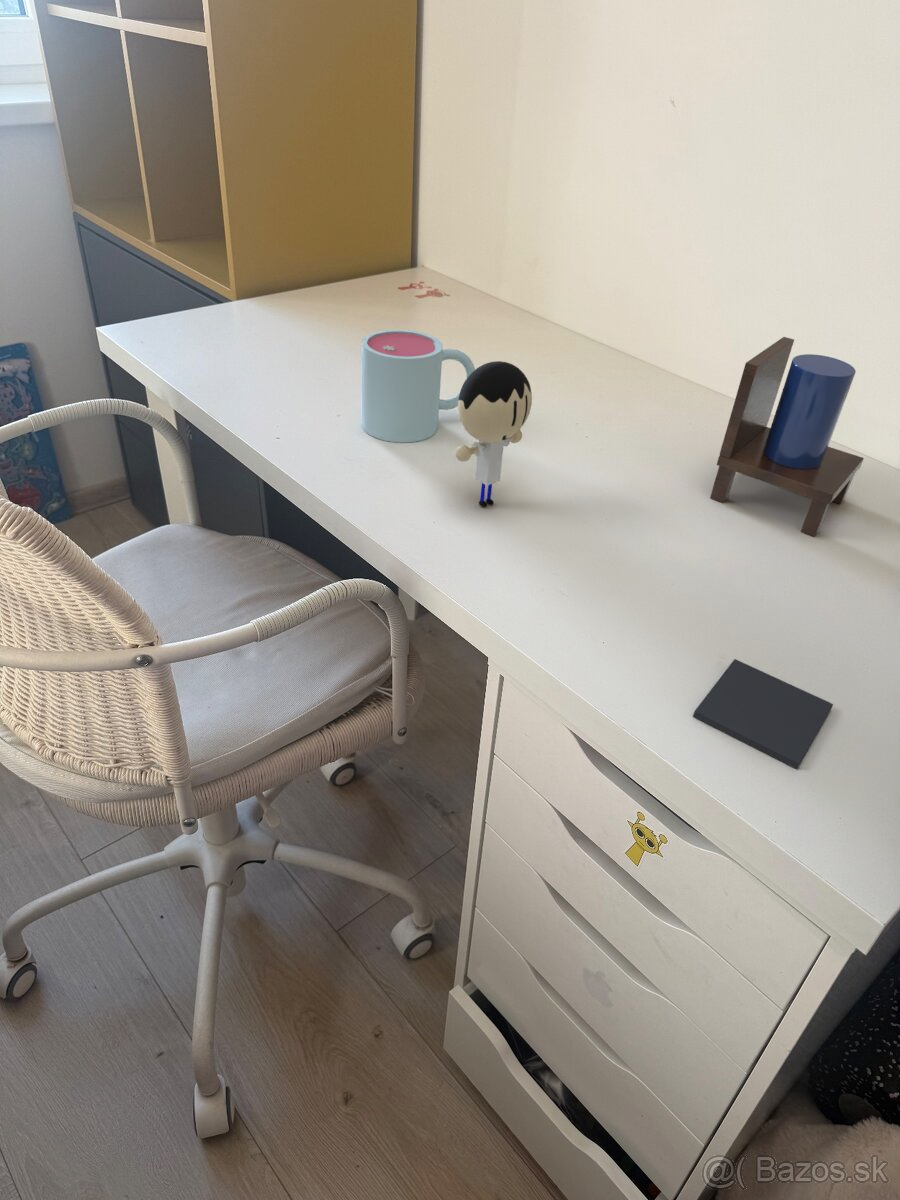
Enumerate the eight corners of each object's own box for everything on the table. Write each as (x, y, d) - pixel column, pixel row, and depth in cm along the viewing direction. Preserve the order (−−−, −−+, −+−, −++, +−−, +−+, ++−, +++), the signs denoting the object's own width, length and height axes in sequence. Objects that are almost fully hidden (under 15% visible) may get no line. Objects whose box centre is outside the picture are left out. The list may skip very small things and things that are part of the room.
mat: (830, 709, 64) (833, 704, 64) (797, 769, 59) (799, 763, 58) (732, 664, 68) (734, 658, 67) (692, 716, 62) (694, 710, 62)
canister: (829, 456, 88) (863, 365, 83) (811, 475, 85) (845, 381, 79) (774, 438, 91) (803, 349, 85) (755, 456, 87) (784, 364, 81)
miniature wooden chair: (847, 499, 92) (900, 367, 83) (816, 539, 85) (871, 398, 76) (744, 464, 97) (783, 336, 88) (706, 498, 90) (745, 362, 81)
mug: (369, 444, 95) (370, 360, 89) (355, 411, 102) (355, 330, 96) (483, 437, 98) (491, 355, 93) (461, 405, 106) (467, 327, 100)
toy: (475, 530, 82) (489, 384, 73) (432, 502, 85) (440, 361, 76) (535, 504, 86) (555, 365, 77) (492, 479, 90) (506, 344, 81)
